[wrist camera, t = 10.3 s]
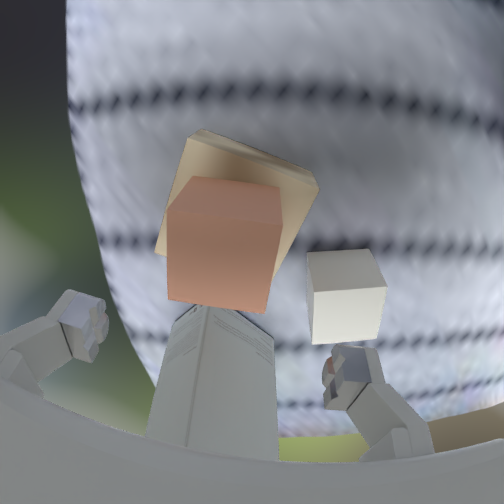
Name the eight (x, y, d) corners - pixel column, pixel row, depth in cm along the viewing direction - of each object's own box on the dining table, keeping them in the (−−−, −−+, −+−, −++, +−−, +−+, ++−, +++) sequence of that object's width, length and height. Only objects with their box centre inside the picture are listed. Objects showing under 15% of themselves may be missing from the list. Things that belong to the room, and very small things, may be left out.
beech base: (311, 170, 21) (319, 189, 17) (266, 261, 25) (265, 292, 21) (202, 128, 19) (187, 137, 16) (170, 226, 23) (154, 252, 20)
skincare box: (173, 321, 28) (127, 465, 15) (214, 287, 26) (176, 456, 13) (237, 365, 31) (222, 499, 18) (281, 339, 28) (282, 490, 16)
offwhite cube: (368, 248, 23) (387, 286, 19) (362, 297, 26) (376, 338, 21) (306, 251, 24) (314, 292, 19) (306, 301, 26) (311, 344, 22)
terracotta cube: (279, 187, 17) (282, 225, 13) (265, 261, 20) (264, 313, 16) (192, 175, 17) (166, 209, 13) (188, 250, 20) (167, 299, 15)
